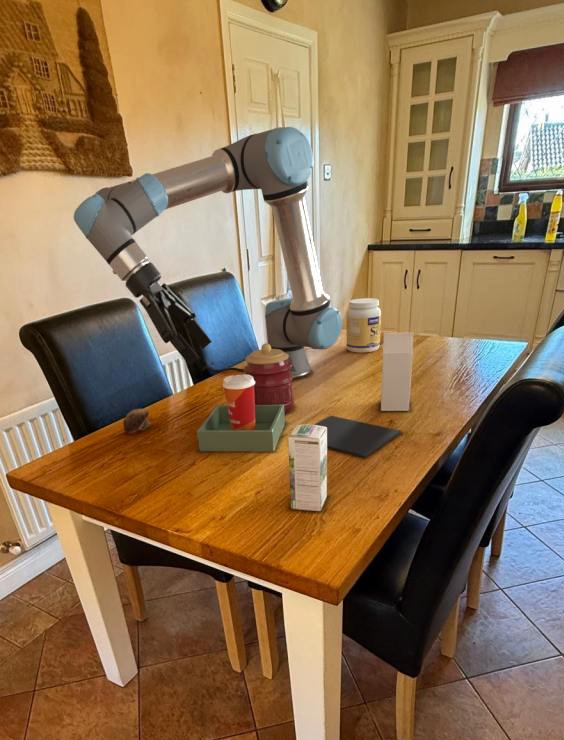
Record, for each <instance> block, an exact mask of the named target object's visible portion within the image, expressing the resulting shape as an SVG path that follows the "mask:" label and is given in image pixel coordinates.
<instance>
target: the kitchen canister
mask: <svg viewBox="0 0 564 740" xmlns="http://www.w3.org/2000/svg"><path fill="white" fill-rule="evenodd" d="M260 348H261V349H257V350H254V351H252V352H250V353H249V354H248V355H247V356H246V357H245V362H247V363H246V364H245V365H244V366H243V367H242V369H243V370H244V371H245V372H244V373H245V374H247V375H251V376H252V377H253V379H254V381H255V384H254V396H255V405H284V412H285V414H288V413H290V412H291V411H293V410H294V405H295V398H294V388H293V380H292V379H293V376H292V375H291V371H290V369H291V367H292V363H291V362H289V361H288V360H287V359H288V357H289V356H288V354H286V353H284V352H283V351H282V350H279V349H271V346H270V344H268V343H267V342H265V343H263V344H262V345H261V347H260Z"/></svg>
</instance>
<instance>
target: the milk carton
mask: <svg viewBox="0 0 564 740" xmlns="http://www.w3.org/2000/svg"><path fill="white" fill-rule="evenodd" d="M413 356H414V331H409V332H407V331H406V332H405V331H404V332H384V333H383V345H382V364H381V365H382V368H381V391H380V392H381V393H380V411H381V412H409V411H410V400H411V399H410V397H411V385H412V370H413V358H414V357H413Z"/></svg>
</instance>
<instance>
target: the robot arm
mask: <svg viewBox="0 0 564 740" xmlns="http://www.w3.org/2000/svg"><path fill="white" fill-rule="evenodd" d="M313 166H314V154H313V149H312V146H311V144H310V142H309V140H308V138H307V136H306V135H305V134H304V133H303V132H301V131H300V130H299V129H298V128H296V127H294V126H293V127H292V126H284V127H282V126H280V127H275V128H271V129H269V130H265V131H262V132H261V131H260V132H257V133H252V134H249V135H247V136H244V137H242V138H241V139H238V140H236V141H234V142H233V143H230V144H228V145H226V146H223V147H220V148H217V149H215V150H214V151H213V152H212V154H211V156H207V157H205V158H202V159H201V158H200V159H198V160H195V161H192V162H188V163H184V164H182V165H178V166H176V167H172V168H168V169H166V170H162V171H158V172H154V173H153V174H152V173H148V172H147V173H144V174H142V175H141V176H140V177H136V179H133V180H130V181H127V182H123V183H119V184H117V185H113V186H110V187H107V186H106V187H103V188H101V189H99V190H97V191H96V192H95V193H94V194H92V195H91V196H88V197H87V198H86V199H84V200H83V201H82V202H81V203H80V204H78V206H77V208H76V209H75V210H74V212H73V221H74V223H75V224H76V226H77V227H78V229H79V230H80V231H81V232H82V234H83V236H84V237H85V239H86V240H87V241H88V242H89V243H90V244H91V245H92V246H93V248H94V249H95V250H96V251H97V252H98V253H99V255H100V256H101V257H102V258H103V259H104V261H105V262H106V263H107V265H108V266H109V267H110V269H112V274H113V275H116V276H117V277H118V278H119V279H120V281H123V282H124V281H125V287H126V288H127V289H128V290H129V292H130V293H131V294H132V296H133V297H134V298H136V299H137V298H140V297H141V298H140V300H139V303H140V305H141V306H142V307H143V309H144V310H145V311H146V314H147V315H148V317H149V319H150V321H151V322H152V325H153V326H154V328H155V330H156V331H157V333H158V335H159V336H160V338H161V340H162V341H163V342H164V344H168V343H169V342H170V343H171V345H172V347H173V348H174V349H175V350H176V351H177V352H178V353H179V355H180V356H181V357H182V358H183V360H184V361H185V362H186V363H187V365H188V366H191V365H193V364H194V363H196V362H197V361H198V360H199V359H200V356H199V355H198V354H197V353H196V351H195V350H194V349H193V347H191V345H190V344H189V343H188V342H187V340H186V338H185V337H184V336H183V335H182V334H181V333H180V332H179V333H178V332H177V329H176V327H175V324H174V323H173V320H172V317H171V315H173V316H174V317H175V318H176V319H178V320H179V321H181V322H182V323H183V324H184V325H185V326H184V327H185V328H186V330H187V331H188V332H189V333H190V334H191V336H192V337H193V338H194V340H195V341H196V342H197V344H198V345H199V346H200V347H201V348H202V349H205V348H206V347H208V345H210V344H211V343H212V342H213V341H212V339H211V338H210V337H209V336H208V334H207V333H206V332H205V330H203V329H204V328H202V327H201V325H200V324H199V323H198V321H197V320H196V318H197V314H196V313H195V312H194V311H193V310H192V309H191V308H190V307H189V306H188V305H187V304H186V303H185V302H184V301H183V300H182V299H181V298H179V296H177V295H176V294H175V293H174V292H173V291H172V289H170V287H169V286H168V285H167V284H166V283H165V282H164V283H162V284H161V285H160V284H159V283H158V282H159V281H160V280H161V278H162V274H161V272H160V271H159V270H158V268H157V267H156V266H155V264H154V263H153V262H151V261H149V256H148V255H147V254H146V252H145V251H144V249H142V247H141V246H140V245H139V243H138V242H137V241H136V239H134V238H133V235H135V234H136V233H137V232H138V231H139V230H141V229H143V228H144V227H145V226H146V225H148V224H149V223H150V222H152V221H153V220H154V219H156V218H157V217H159V216H160V215H161V214H162V213H163V212H164V211H165V210H168V209H171V208H175V207H178V206H181V205H184V204H187V203H190V202H193V201H196V200H198V199H202V198H205V197H207V196H210V195H214V194H216V193H219V192H221V193H223V194H231V193H234V192H237V191H246V190H247V191H248V190H261V191H260V192H261V194H262V199H263V202H264V203H266V204H267V205H269V206H270V207H271V210H272V215H273V219H274V223H275V227H276V231H277V236H278V241H279V244H280V248H281V254H282V258H283V261H284V266H285V270H286V274H287V279H288V283H289V288H290V292H291V295H292V297H290V298H283V299H278V300H272V301H269V302H267V303H266V305H265V308H264V310H265V311H264V313H265V314H264V318H265V327H266V328H265V329H266V340H267V342H266V343H268V344H270V346H271V349H279V350H282V351H283V352H284V353H286V354H288V356H289V357H288V359H287V360H288V361H289V362H291V363H292V367H291V369H290V371H291V375H292V376H293V379H292V381H297V380H301V379H304V378H307V377H308V376H310V375H311V372H312V371H311V365H310V359H309V357H308V356H307V353H306V350H305V348H309V349H310V348H311V349H312V350H321V351H322V350H328V349H329V348H331V347H333V346H334V345H335V344H336V342H337V341H338V339H339V337H340V335H341V334H342V333H341V332H342V329H343V317H342V314H341V313H340V311H339V310H338V309H336V308H335V307H332V304H331V298H330V295H329V294H328V293H327V292H325V291H324V290H323V286H322V281H321V276H320V269H319V265H318V259H317V255H316V250H315V245H314V240H313V235H312V230H311V224H310V219H309V214H308V208H307V203H306V199H305V196H306V193H307V192H308V189H309V182H308V180H309V179H310V177H311V175H312V169H313ZM142 296H143V297H142ZM170 314H171V315H170ZM206 370H208V371H210V372H212V373H215V374H216V373H217V374H219V373H225V372H230V371H235V372H239V373H246V372H245V371H244V370H243V368H238V367H232V366H231V367H225V368H220V369H215V368H212V367H210V366H208V365H207V366H204V367H202V368H201V372H205V371H206Z"/></svg>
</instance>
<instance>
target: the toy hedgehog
mask: <svg viewBox="0 0 564 740" xmlns="http://www.w3.org/2000/svg"><path fill="white" fill-rule="evenodd" d="M149 415H150V414H149V411H148V410H147V409H145V408H135V409H132V410H131V411H129V412H127V414H126V415H125V417H124V419H123V425H122V426H123V428H124V430H125V432H126V433H127V434H134V433H136V432H137V431H139V430H140V431H146V430H147V429H148V428H149V427H151V426H152V425H153V423H152V422H149V421H148V420H147V418H148V417H149Z"/></svg>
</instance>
